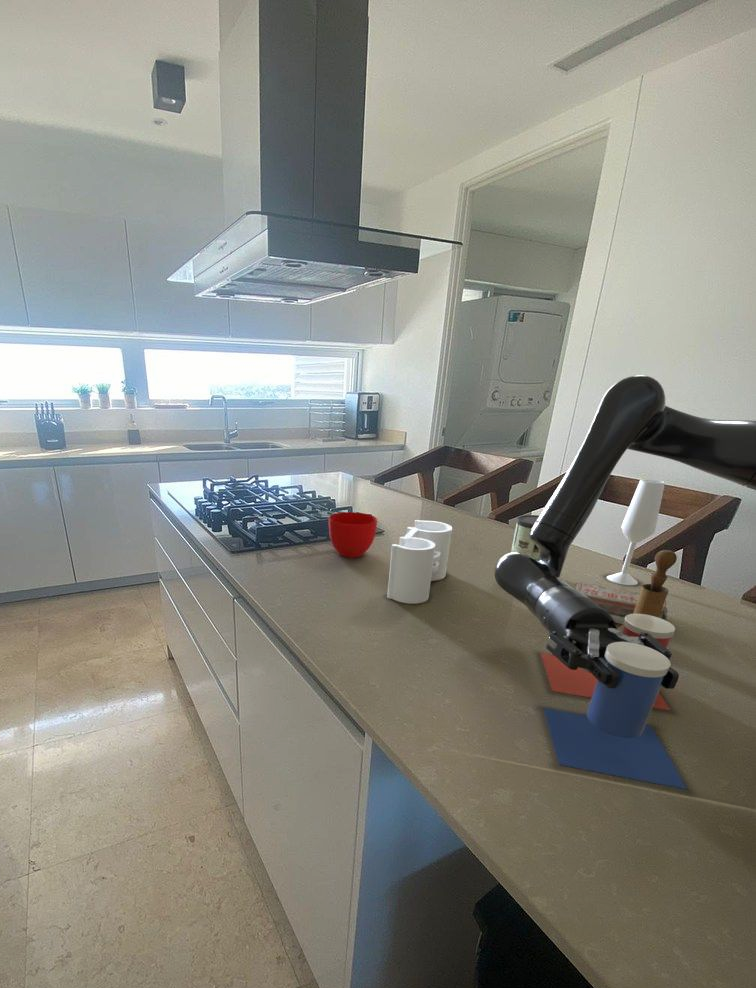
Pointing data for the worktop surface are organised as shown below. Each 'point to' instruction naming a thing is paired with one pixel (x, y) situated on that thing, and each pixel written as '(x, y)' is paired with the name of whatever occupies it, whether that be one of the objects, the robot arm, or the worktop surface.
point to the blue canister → (628, 690)
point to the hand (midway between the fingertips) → (644, 682)
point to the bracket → (418, 561)
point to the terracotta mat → (577, 680)
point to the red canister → (648, 627)
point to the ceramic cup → (352, 532)
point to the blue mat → (610, 750)
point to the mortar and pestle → (655, 586)
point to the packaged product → (614, 600)
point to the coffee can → (525, 536)
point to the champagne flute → (639, 522)
